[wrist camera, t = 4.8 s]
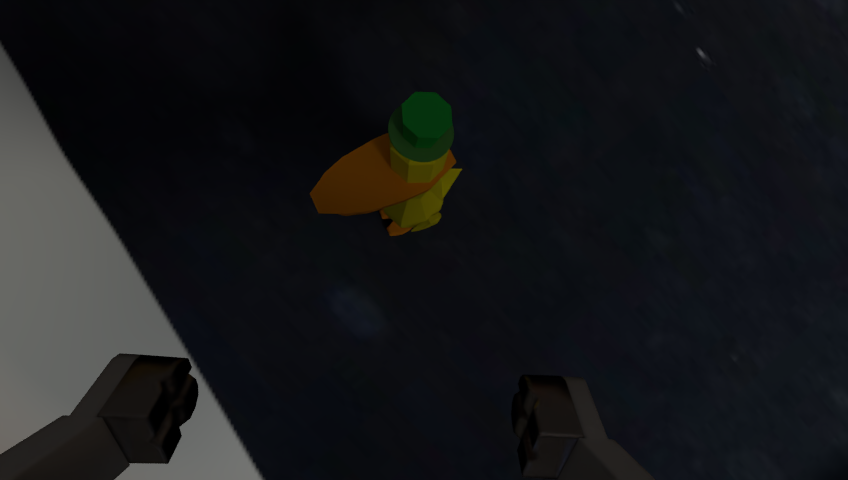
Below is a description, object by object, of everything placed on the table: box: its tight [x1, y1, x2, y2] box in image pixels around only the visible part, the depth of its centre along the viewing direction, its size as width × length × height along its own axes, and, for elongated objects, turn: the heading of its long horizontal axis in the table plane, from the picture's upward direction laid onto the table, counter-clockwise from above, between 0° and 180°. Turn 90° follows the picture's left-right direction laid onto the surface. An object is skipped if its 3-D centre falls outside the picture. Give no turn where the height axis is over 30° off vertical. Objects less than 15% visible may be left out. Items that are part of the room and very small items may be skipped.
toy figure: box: [310, 92, 462, 236], centre depth 18 cm, size 7×4×12 cm, turn 116°
